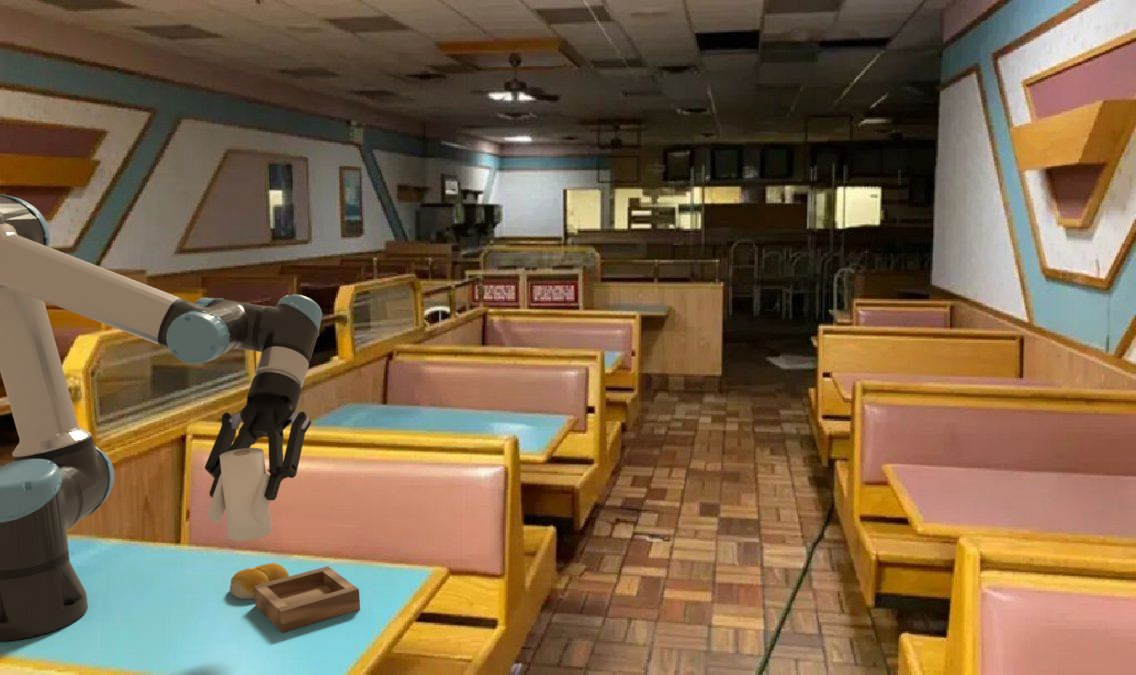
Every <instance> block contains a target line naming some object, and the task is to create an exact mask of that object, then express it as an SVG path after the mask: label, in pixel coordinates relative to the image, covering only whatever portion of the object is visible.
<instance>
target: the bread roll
mask: <svg viewBox="0 0 1136 675" xmlns="http://www.w3.org/2000/svg"><path fill="white" fill-rule="evenodd" d="M289 576H290V575H289V572H288V570H287V569H286V568H285V567H284V566H282V565H281V564H278V563H275V562H270V563H265V564H261V565H258V566H255V567H253V568H251V567H250V568H245V569H241V570H239V571H236V572H235V573H234V575H232V577H231V579H230V585H229V592H230V593H231V595H233V596H234V597H235V598H237V599H239V600H255V597H254V586H255V585H259V584H263V583H267V582H270V581H274V580H278V579H282V578H285V577H289Z"/></svg>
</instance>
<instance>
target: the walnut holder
mask: <svg viewBox="0 0 1136 675" xmlns="http://www.w3.org/2000/svg"><path fill="white" fill-rule="evenodd" d="M254 597H255V599H254V605H255V608H257V609H258V610H259V611H260V612H261V613H262V614H264V616H265V617H266V618H267V619H268V620H269V621H270V622H271V623H272V624H273V625H274V626H275V627H276V628H278V630H279V631H280V632H282V633H286V632H289V631H293V630H296V629H298V628H299V629H300V628H302V627H305V626H306V627H307V626H309V625H312V624H315V623H319V622H322V621H325V620H328V619H332V618H336V617H338V616H342V615H345V614H349V613H352V612H356V611H359V610H361V600H360V589H359V587H357V586H355V585H354V584H353V583H351V581H348V580H347V579H346V578H344V576H342V575H340V574H339V573H338V572H337V571H335V570H334V569H333V568H331V567H330V566H329V565H326V566H324V567H320V568H316V569H312V570H308V571H304V572H301V573H297V574H294V575H289V577H285V578H282V579H278V580H274V581H270V582H267V583H263V584H259V585H255V586H254Z"/></svg>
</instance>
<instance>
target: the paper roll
mask: <svg viewBox="0 0 1136 675" xmlns="http://www.w3.org/2000/svg"><path fill="white" fill-rule="evenodd" d="M265 461H266V460H265V454H264V449H262V448H258V447H250V448H244V449H237V450H232V451H228V452H225V453H223V454H221V455H220V465H221V474H222V484H223V493H224V503H225V510H224V512H225V520H226V530H227V538H228V539H229V540H231V541H235V542H245V541H246V542H247V541H253V540H258V539H261V538H263V537H266V536H268V535H269V534H271V532H272V523H271V522H272V521H271V520H272V519H271V510H270V506H269V507H268V510H267V514H266V517H265V520H264V524H258V523H257V522H256V521H255V520H254V519H253V518H252V517H251V513H252V509H253V506H254V503H255V499H256V496H257V493H258V489H259V486H260V483H261V480H262V476H263V474H267V472H266V462H265Z"/></svg>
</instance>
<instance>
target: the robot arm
mask: <svg viewBox="0 0 1136 675" xmlns="http://www.w3.org/2000/svg"><path fill="white" fill-rule="evenodd" d="M50 239H51V234H50V229H49V225H48V223H47V221H46V219H45V217H44V215H42V213H41V212H40V210H39V209H37V207H35V206H34V205H32V204H30V203H29V202H27V201H26V200H23V199H21V198H18V197H17V196H16V197H14V196H10V195H5V194H1V193H0V376H1V378H2V382H3V386H4V389H5V393H6V396H7V400H8V403H9V407H10V411H11V414H12V417H13V420H14V424H15V428H16V432H17V435H18V437H19V440H18V441H19V443H18V444H17V445H16V447H15V449H14V450H13V452H12V453H11V455H12V459H13V461H10V462H8V463H6V464H4V465H0V642H2V641H16V640H22V639H28V638H33V637H36V636H41V635H44V634H48V633H50V632H54V631H57V630H59V629H61V628H64V627H66V626H68V625H71V624H73V623H74V622H75V621H77V620H79V619H80V618H81V617H82V616H84V614H85V613H86V612H87V611H88V609H89V608H88V607H89V604H88V596H87V592H86V589H85V587H84V585H83V584H82V582H81V580H80V578H79V576H78V574H77V572H76V570H75V569H74V567H73V564H72V562H71V560H70V552H69V543H68V542H69V540H68V533H67V530H68V529H70V528H72V527H73V526H74V525H76V524H77V523H79V522H80V521H82V520H83V519H85V518H87V517H88V516H91V515H92V514H94V513H95V512H97V510H98V509H99V508H100V507H101V506H102V504H103V503H104V502H105V501H107V499H108V498H109V497H110V495H111V492H112V490H113V487H114V485H115V484H114V482H115V469H114V467H113V466H114V465H113V463H112V461H111V459H110V458H109V456H108V455H107V454H106V453H105V451H102V450H101V449H99V447H98V446H96V445H95V442H94V439H93V435H92V433H91V432H90V431H88V430H87V429H84V428H82V427H81V426H80V425H79V422H78V419H77V416H76V413H75V409H74V408H75V407H74V404H73V400H72V397H71V395H70V394H71V393H70V390H69V387H68V382H67V380H66V375H65V372H64V369H63V365H62V362H61V361H62V360H61V358H60V354H59V351H58V346H57V343H56V340H55V336H54V332H53V328H52V325H51V320H50V317H49V314H48V311H47V307H46V303H47V304H49V305H50V304H51V305H53V306H56V307H57V308H61V309H62V310H63V309H64V310H66V311H69V312H72V313H73V314H74V313H75V314H77V315H78V316H79V315H80V316H82V317H85V318H87V319H90V320H93V321H96V322H98V323H101V324H104V325H106V326H109V327H111V328H114V329H116V330H119V331H121V332H124V333H126V334H127V333H128V334H130V335H132V336H135V337H138V338H140V339H143V340H145V341H149V342H151V343H153V344H156V345H159V346H162V347H164V348H166V349H168V350H169V351H170V353H171V354H172V355H173V356H174V357H175V358H176V359H177V360H179V361H181V362H182V363H185V364H189V365H199V364H206V363H209V362H211V361H214V360H217V359H218V358H220V357H221V356H222V355H224V354H226V353H228V352H231V351H232V350H235V349H237V350H244V351H245V350H246V351H254V352H257V353H258V352H259V353H260V356H259V359H258V362H257V365H256V369H255V371H254V376H253V379H252V380H251V384H250V386H249V388H248V393H247V395H246V403H245V406H244V407H243V408H242V409H241V410H240V412H239V413H235V414H230V413H229V412H224V413H223V414H222V416H221V427H220V429H219V431H218V433H217V436H216V439H215V441H214V442H213V443H214V444H213V446H212V448H211V451H210V454H209V455H208V458H207V461H206V462H205V465H204V470H205V471H206V472H207V473H209V475H210V476H211V477H212V478H213V481H212V484H211V486H210V490H209V497H210V498H211V502H210V504H209V507H208V511H207V513H206V516H207V517H208V519H210V520H211V521H212V522H213V523H214V524H216V525H220V524H221V522H222V520H223V516H224V514H225V513H224V512H225V503H224V493H223V484H222V474H221V465H220V455H221V454H223V453H225V452H228V451H232V450H237V449H244V448H252V447H251V446H253V445H255V444H256V443H257V441H258V440H259V439H261V438H267V439H268V466H269V467H268V468H267V472H269V474H268V473H266V474H263V476H262V480H261V483H260V486H259V489H258V493H257V496H256V499H255V503H254V506H253V509H252V513H251V517H252V518H253V519H254V520H255V521H256V522H257V523H258V524H264V520H265V517H266V514H267V510H268V507H269V508H270V502H271V501H275V500H276V498H277V497H278V492H279V490H280V487H281V482H282V481H283V480H284V479H288V478H290V479H293V478H295V477H296V476H297V473H298V470H299V469H298V468H299V463H300V459H301V454H302V450H303V445H304V440H305V435H306V433H307V431H308V430H309V428H310V426H311V425H312V421H311V420H310V418H309V416H308V415H307V414H306V413H305V412H304V411H300V412H298V413H297V412H296V410H297V407H298V404H299V401H300V397H301V394H302V388H303V386H304V383H305V379H306V376H307V373H308V369H309V366H310V362H311V359H312V355H313V352H314V349H315V346H316V343H317V339H318V337H319V336H320V328H321V322H322V318H323V312H322V308H321V307H320V305H319V304H318V303H317V302H316V301H314V300H313V299H312V298H310V297H307V296H305V295H302V294H295V293H294V294H291V295H284V296H283V297H281V298H280V299H279V300H278V302H277V303H276V305H275V306H272V305H260V304H254V303H253V304H252V303H247V302H241V301H235V300H230V299H229V300H228V299H224V298H221V297H219V298H214V297H201V298H199V299H197V300H196V301H195V303H194V302H192V301H189V300H186V299H182V298H181V297H178V296H176V295H173V294H170V293H169V292H166V291H164V290H161V289H158V288H155V287H153V286H151V285H148V284H145V283H142V282H140V281H139V280H138V281H137V280H134V279H132V278H130V277H127V276H125V275H122V274H120V273H116V272H114V271H113V270H108V269H106V268H103V267H101V266H98V265H96V264H94V263H91V262H88V261H86V260H83V259H81V258H77V257H75V256H72V255H71V254H68V253H65V252H62V251H60V250H58V249H55V248H52V247H49V246H50ZM241 423H242V425H241V426H240V424H241ZM290 425H291V426H290ZM288 426H290V431H289V435H288V439H287V443H286V447H285V452H284V449H283V448H284V447H283V446H284V445H283V443H284V442H285V441H284V440H285V438H284V430H286V428H287V427H288ZM237 430H238V435H237V436H236V433H237ZM235 437H236V438H235Z"/></svg>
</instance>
